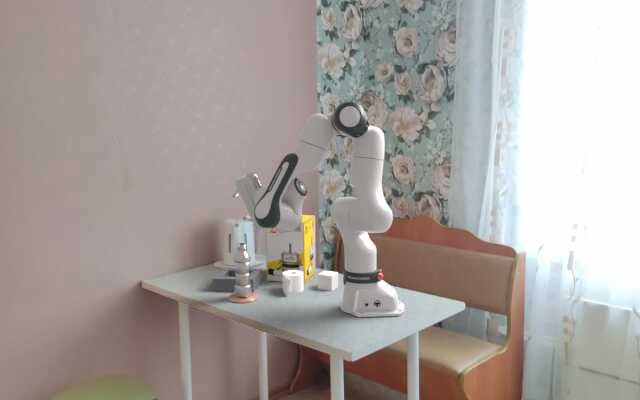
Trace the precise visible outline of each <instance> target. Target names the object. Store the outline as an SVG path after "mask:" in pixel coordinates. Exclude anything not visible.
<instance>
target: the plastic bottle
mask: <svg viewBox="0 0 640 400" xmlns="http://www.w3.org/2000/svg"><path fill="white" fill-rule="evenodd" d="M247 246H248V245H247V243H246V242H245V243H244V242H239V243H237V244H236V252H235V253H234V255H233V259H232V260H233V265H234V268H235V272H236V273H235V274H236V278H235V289H234V291H235V292H234V294H236V296H237V297H248V296H250V294H251V293H253V292H252V288H251V284H250V269H251V254H250V253H249V252H248V251H247V249H248V247H247Z"/></svg>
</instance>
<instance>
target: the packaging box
mask: <svg viewBox="0 0 640 400" xmlns="http://www.w3.org/2000/svg"><path fill="white" fill-rule="evenodd" d="M265 249H266V250H265V252H266V254H265V255H266V257H265V258H266V281H268V282H282V273H283V272H284V271H288V270H299V271H302V272H303V282H304V284H305V283H306V282H308V281H309V279H310V278H312V276H314V274H316V272H317V268H316V267H317V266H316V263H317V262H316V259H317V257H316V215H311V214H302V222H301V224H300V226H299V227H298V228H297V229H296V230H294V231H291V232H289V231H284V230H278V229H274V228H265Z"/></svg>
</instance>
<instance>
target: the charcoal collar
mask: <svg viewBox="0 0 640 400" xmlns="http://www.w3.org/2000/svg"><path fill="white" fill-rule="evenodd" d="M235 273H236V272H235V267H223V268H222V269H221V271H219V272H218V273H217V274H216V275H215V276H214V277H213V278H212V288H213V289H212V291H213V292H234V293H235V291H234V289H235V278H236V274H235ZM262 282H263V269H262V268H250V284H251V288H252V292H251V293H254V292H255V291H256V290H257V289H258V287H259V286H260V285H261V283H262Z"/></svg>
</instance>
